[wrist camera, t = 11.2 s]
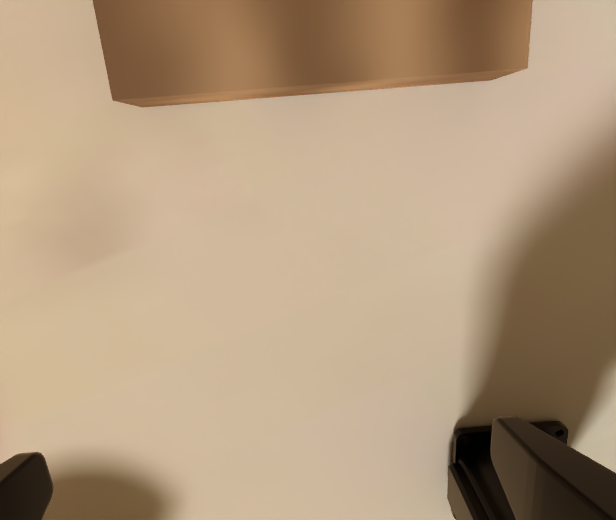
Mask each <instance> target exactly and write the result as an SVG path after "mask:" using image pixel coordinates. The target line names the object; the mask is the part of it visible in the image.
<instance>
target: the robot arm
mask: <svg viewBox="0 0 616 520" xmlns="http://www.w3.org/2000/svg"><path fill="white" fill-rule="evenodd" d="M557 430H558V431H557ZM462 437H465V438H464V439H461V438H462ZM567 437H568V429H567V428H566V427H565V426H564V424H563V423H561V422H559V421H551V422H538V423H528V422H526V421H524V420H522V419H521V418H519V417H517V416H501V417H496V418H494V420H493V423H492V426H485V427H472V428H461V429H458V430H457V431H456V432H455V433H454V436H453V463H450V465H449V467H448V495H447V498H448V501H449V503H450V506H451V511H452V514H453V516H454V518H455V519H456V520H616V473H615V472H613V471H611V470H609V469H608V468H606V467H604V466H602V465H601V464H599V463H597V462H595V461H594V460H592V459H590V458H589V457H587V456H585V455H583V454H582V453H580V452H578V451H576V450H575V449H573V448H571V447H569V446H568V445H567ZM52 493H53V483H52V479H51V476H50V473H49V470H48V467H47V464H46V461H45V458H44V456H43V455H42V454H41V453H39V452H32V453H21V454H17V455H15V456H13V457H12V458H10V459H8V460H7V461H5V462H3V463H2V464H0V520H42V518H43V516H44V513H45V511H46V509H47V507H48V504H49V502H50V500H51V497H52Z"/></svg>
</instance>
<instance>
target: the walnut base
mask: <svg viewBox="0 0 616 520" xmlns="http://www.w3.org/2000/svg"><path fill="white" fill-rule="evenodd" d="M532 2H533V0H93V4H94V9H95V14H96V19H97V24H98V29H99V34H100V39H101V44H102V49H103V54H104V59H105V64H106V69H107V74H108V79H109V84H110V89H111V94H112V99H113V101H118V102H122V103H126V104H130V105H135V106H139V107H152V106H165V105H178V104H191V103H204V102H217V101H230V100H242V99H255V98H268V97H281V96H294V95H307V94H320V93H333V92H345V91H358V90H371V89H384V88H397V87H410V86H423V85H436V84H448V83H461V82H474V81H487V80H493V79H496V78H499V77H502V76H505V75H508V74H511V73H514V72H517V71H520V70H523V69H526V68H528V55H529V42H530V28H531V15H532Z"/></svg>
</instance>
